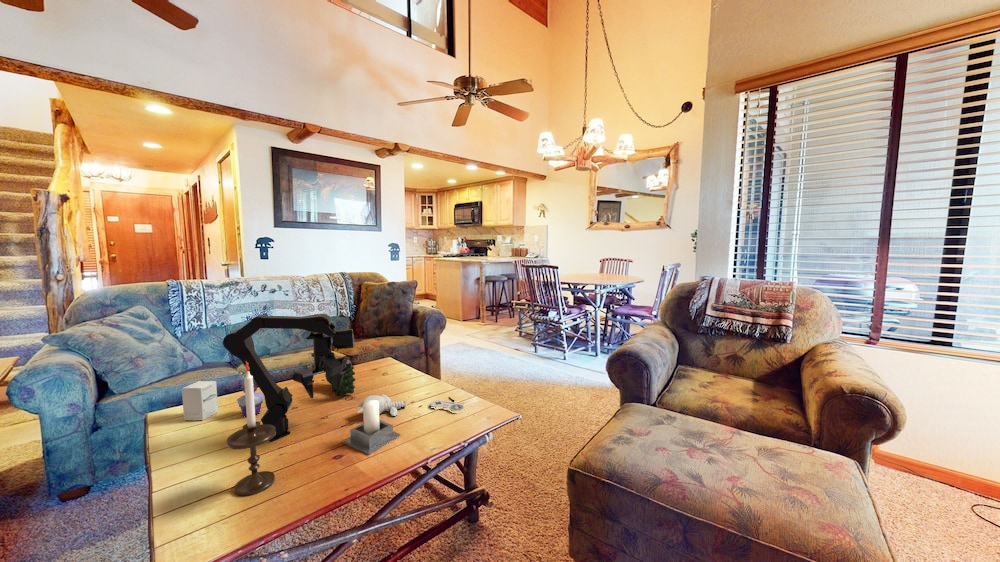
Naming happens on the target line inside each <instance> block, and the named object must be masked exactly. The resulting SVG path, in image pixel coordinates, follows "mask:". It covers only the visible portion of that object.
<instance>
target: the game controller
mask: <svg viewBox="0 0 1000 562" xmlns="http://www.w3.org/2000/svg"><path fill="white" fill-rule="evenodd" d="M430 406H431V407H435V408H436V407H443V408H449V409H450V410H451V411H461V410H463V409H464V408H465V405H464V404H463V403H458V402H453V401H448V400H444V399H441V400H440V399H436V400H432V401H431V402H430V403H429V407H430Z"/></svg>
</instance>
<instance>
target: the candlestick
mask: <svg viewBox="0 0 1000 562" xmlns="http://www.w3.org/2000/svg"><path fill="white" fill-rule="evenodd" d="M248 364H249V363H247V362H246V365H245V366H244V367H245V370H246V375H245V376H244V378H243V381H244V388H245V393H244V395H245V398H246V414H247V418H246V423H245V424H243V426H242V428H241V429H239V430H237V431H235V432H233V433H231V434H230V435H229V436H228V437H227V438H226V446H227V447H228V448H229V449H231V450H247V449H248V450H249V454H250V455H249V457H247V463H248V464H250V466H249V467H248V470H249V471H251V474H249V475H248V474H247V475H246V476H244V477H243V478H241V479H240V480H239V481H237V482H236V484H235V485H234V494H235V495H237V496H238V497H249V496H255V495H257V494H260V493H262V492H265V491H266V490H267V489H269V488H271V486H272V485H273V484H274V483H275V481H276V477H275V476H276V475H275V473H274V472H272V471H268V470H263V471H262V470H261V471H258V469H259V468H260V467H261V465H260V464H259V463H258V462H259V460H260V459H261V455H259V454H257V447H258V446H261V445H264V444H265V443H267V442H270V441H269V440H271V439H272V438H273V437H274V436H275V435H276V428H275V426H273V425H269V424H263V423H261V421H256V416H255V404H254V388H253V383H254V379H253V376H252V375H250V372H249V369H250V368H249V366H248Z"/></svg>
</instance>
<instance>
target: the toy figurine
mask: <svg viewBox="0 0 1000 562" xmlns="http://www.w3.org/2000/svg"><path fill="white" fill-rule="evenodd" d="M343 357H345V358H346V359H347V360H350V358H349V357H348V356H346V355H344V356H343ZM354 369H355V367H354V366H353V364H351V368H348V371H346V372H345V373H344V374H343V376H342V378H341V381H340V384H339V387H338V389H335V386H334V380H333V376H328V375H327V373H326V372H325V374H324V375H325V376H324V377H325V380H326V381H327V383H328V384H330V385H331V390H332V392H335V395H336V396H340V397H344V396H345V395H346V394H348V393H349V394H354V393H355V390H354V389H355V387H356V386H355V385H354V382H356V378H355V377H354V376H355V375H356V372H355V371H354Z"/></svg>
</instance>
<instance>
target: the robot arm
mask: <svg viewBox="0 0 1000 562" xmlns="http://www.w3.org/2000/svg"><path fill="white" fill-rule="evenodd" d="M260 329H277V330H278V329H283V330H284V329H285V330H286V329H287V330H295V329H296V330H303V331H307V332H310V333H309V334H307V336H306V338H305V339H306V340H307V341H308V340H312V347H313V348H312V349H313V350H312V351H313V352H311V353H310V354H311V357H313V364H312V365H311V368H312V370H309V369H306V368H303V369H299V370H297V371H294V372H293V373H292V381H294V382H297V383H299V384H301V385H302V386H303V388H304V389H305V391H306V392H307V394H308V396H309V397H310V398H311V399H314V385H313V384H315V383H314V382H315V380H314V376H316V375H320V374H323V373H325V374H326V373H327V375H328V376H333V380H334V386H335V389H338V387H339V384H340V381H341V378H342V376H343V374H344V373H345V372H346V371H348V368H351V365H352V362H351V360H350V359H349V360H347V359H346V358H345V357H344V356H343V357H340V358H338V357H337V358H336V355H335V353H334V352H333V350H332V347H334V348H335V349H336V350H346V349H355V336H354V329H353V328H348V329H338V328H337V326H335V324H334V323H333V322H332V318H331V317H330V316H329V315H328V314H327V313H317V314H311V315H305V316H304V315H303V316H293V315H292V316H290V315H289V316H287V315H285V316H284V315H263V314H260V315H257V316H255V317H253V318H252V319H251V320H250V321H249V322H248V323H246V324H245V325H243V326H242V327H241V328H238V329H234V330H233V331H232V332H230V333H228V334H226V335H225V336H224V337H223V340H222V345H223V347H224V348H225V349H226V351H228V352H229V354H230V355H232V356H234V357H235V358H237V359H238V360H240V362H241V363H242V364H243V366H244V367H245V365H246V362H247V363H249V364H248V366H249V368H250V369H249V372H250V375H252V376H253V382H254V383H255V385H256V386H257V388H258V389H259V390H260V391H261V393H262V394H264V403H265V407H266V408H267V409H266V411H265V413H264V414H263V416H262V417H261V419H260V422H261V424H269V425H273V426H275V428H276V435H275V436H274V437H273V438H272V439H271V440H269V441H268V442H273V441H276V440H278V439H281V438H283V437H286V436H288V435H290V433H291V432H290V431H289V429H290V428H289V418H287V417H288V416H287V415H286V414H287V413H288V411H289V410H290V408H291V406H292V403H293V398H292V397H293V396H294V395H293V394H292V393H291V392H290V390H289V387H288V386H285V387H284V388H282V387H280V386H279V385H278V383H277V382H276V381H275V380H274V378H273V376H272V375H271V373H270V372H269V370H268V369H267V367H266V366H265V364H264V363H263V361H262V359H261V358H260V356H259V355H258V353H257V352H256V349H255V341H254V338H253V337H252V336H253V335H254V334H256V333H257V332H258V331H259V330H260Z"/></svg>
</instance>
